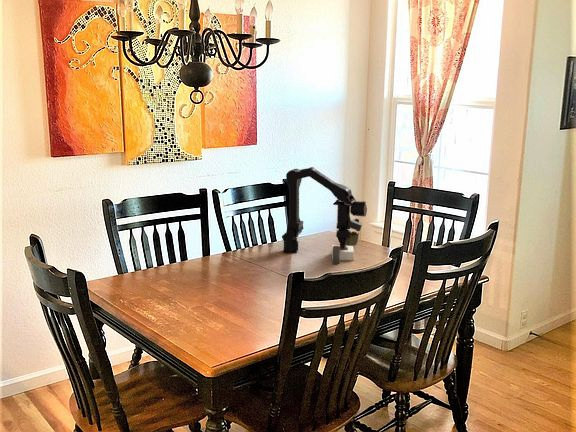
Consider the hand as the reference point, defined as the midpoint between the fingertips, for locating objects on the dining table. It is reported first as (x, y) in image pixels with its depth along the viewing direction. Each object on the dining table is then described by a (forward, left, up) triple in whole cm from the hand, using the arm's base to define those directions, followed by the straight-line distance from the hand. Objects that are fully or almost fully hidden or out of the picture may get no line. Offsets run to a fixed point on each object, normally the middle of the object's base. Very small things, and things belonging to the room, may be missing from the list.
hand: (342, 247), depth 274 cm
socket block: (0, 0, -5) cm, 5 cm away
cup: (+4, +14, -5) cm, 15 cm away
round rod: (-3, -11, -5) cm, 12 cm away
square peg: (0, 0, -2) cm, 2 cm away
